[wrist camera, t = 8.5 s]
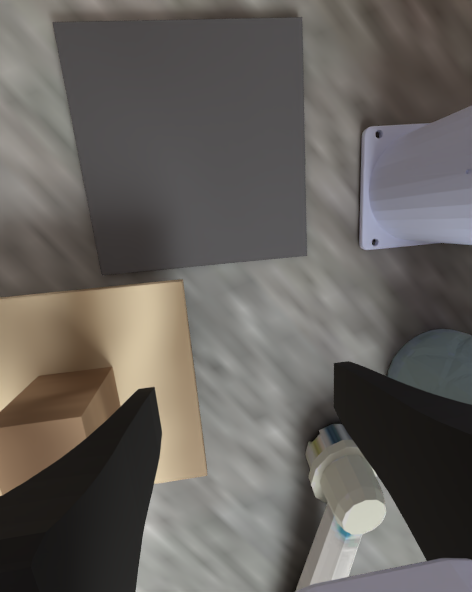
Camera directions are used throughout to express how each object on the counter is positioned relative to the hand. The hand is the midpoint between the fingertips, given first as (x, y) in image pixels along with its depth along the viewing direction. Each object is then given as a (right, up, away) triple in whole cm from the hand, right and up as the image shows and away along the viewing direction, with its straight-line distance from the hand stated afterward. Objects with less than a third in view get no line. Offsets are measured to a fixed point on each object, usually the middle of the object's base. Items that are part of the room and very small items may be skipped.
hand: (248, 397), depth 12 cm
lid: (-9, -2, +6) cm, 11 cm away
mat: (-3, +13, +7) cm, 15 cm away
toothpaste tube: (+7, -19, +17) cm, 26 cm away
